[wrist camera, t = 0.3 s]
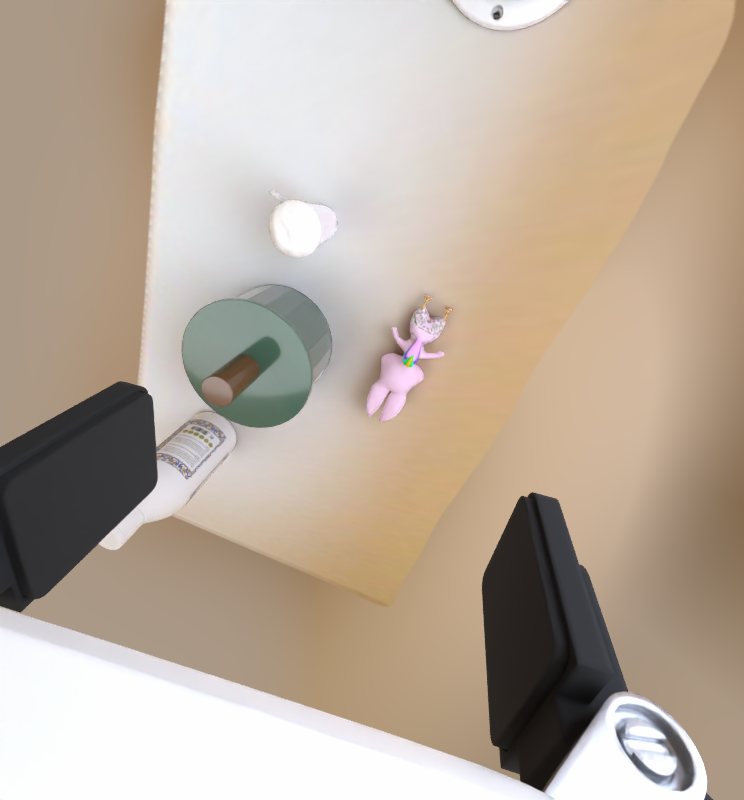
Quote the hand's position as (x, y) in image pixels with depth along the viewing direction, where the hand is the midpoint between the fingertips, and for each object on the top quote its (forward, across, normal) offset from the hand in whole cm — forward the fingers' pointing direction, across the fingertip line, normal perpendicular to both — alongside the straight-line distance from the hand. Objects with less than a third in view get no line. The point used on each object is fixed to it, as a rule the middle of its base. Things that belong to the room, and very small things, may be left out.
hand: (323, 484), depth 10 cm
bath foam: (+37, +23, +28) cm, 51 cm away
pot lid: (+28, +15, +12) cm, 34 cm away
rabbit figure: (+37, 0, +10) cm, 38 cm away
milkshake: (+36, +11, -2) cm, 38 cm away
